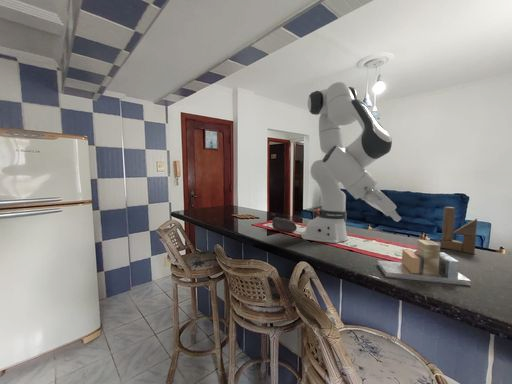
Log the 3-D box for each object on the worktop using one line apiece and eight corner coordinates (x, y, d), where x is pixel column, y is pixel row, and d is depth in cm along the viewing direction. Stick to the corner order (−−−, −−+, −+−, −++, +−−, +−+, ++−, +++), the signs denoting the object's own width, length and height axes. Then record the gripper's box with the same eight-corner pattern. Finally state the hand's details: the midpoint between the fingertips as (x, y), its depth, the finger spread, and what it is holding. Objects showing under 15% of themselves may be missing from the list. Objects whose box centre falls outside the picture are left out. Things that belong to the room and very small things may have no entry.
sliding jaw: (411, 272, 70) (412, 257, 70) (401, 262, 78) (402, 249, 77) (420, 273, 69) (422, 258, 69) (410, 263, 77) (411, 249, 77)
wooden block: (474, 254, 92) (477, 210, 90) (440, 248, 99) (443, 207, 98) (474, 252, 94) (478, 209, 93) (441, 246, 102) (444, 206, 100)
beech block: (423, 272, 71) (425, 244, 70) (416, 266, 75) (418, 239, 75) (438, 274, 70) (440, 245, 69) (430, 267, 74) (432, 240, 74)
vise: (386, 276, 71) (387, 256, 71) (377, 264, 81) (378, 246, 80) (470, 285, 66) (472, 263, 65) (450, 271, 75) (452, 252, 75)
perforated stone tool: (298, 232, 125) (299, 219, 124) (293, 234, 121) (294, 221, 120) (276, 227, 135) (276, 216, 134) (271, 229, 131) (271, 217, 130)
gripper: (379, 181, 65) (415, 216, 63) (363, 179, 84) (391, 206, 83) (361, 196, 66) (396, 231, 65) (350, 190, 86) (377, 217, 84)
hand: (393, 217), depth 74 cm, fingers open, 8 cm apart
